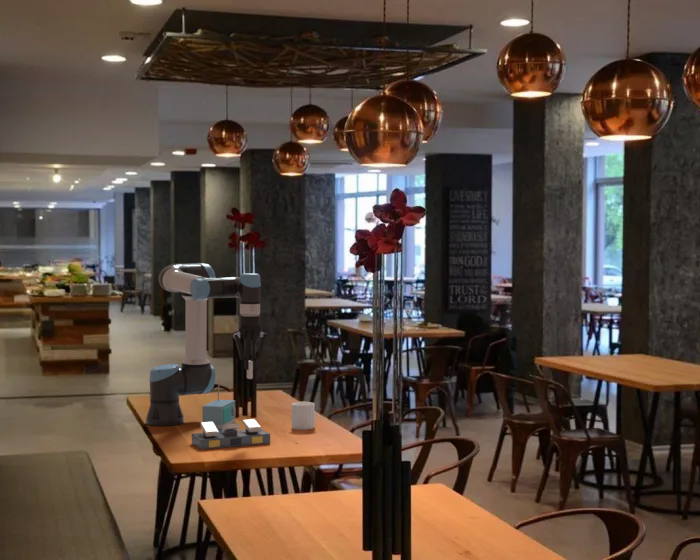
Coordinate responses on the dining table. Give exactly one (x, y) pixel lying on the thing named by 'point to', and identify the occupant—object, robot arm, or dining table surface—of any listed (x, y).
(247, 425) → the rocker
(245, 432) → the console
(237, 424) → the rocker
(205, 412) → the radio
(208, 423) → the rocker
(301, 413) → the cup
